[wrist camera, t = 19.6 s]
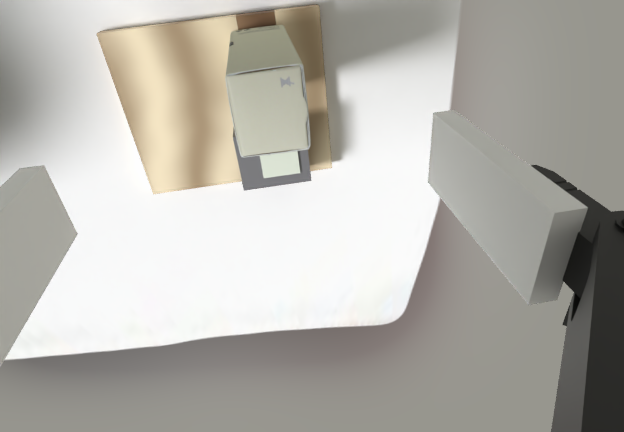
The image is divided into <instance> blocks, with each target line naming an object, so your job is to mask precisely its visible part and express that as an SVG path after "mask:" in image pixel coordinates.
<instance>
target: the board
mask: <svg viewBox="0 0 624 432" xmlns="http://www.w3.org/2000/svg"><path fill="white" fill-rule="evenodd" d="M274 25H284V27H285V29H286V32H287V34H288V36H289V38H290V39H291V41H292V43H293V45H294V47H295V49H296V51H297V53H298V55H299V57H300V59H301V61H302V64H303V66H304V75H305V83H306V92H307V102H308V112H309V124H310V140H311V145H310V148H309V149H308V155H309V164H310V171H314V170H321V169H328V168H332V162H331V149H330V136H329V124H328V111H327V98H326V85H325V72H324V59H323V47H322V34H321V21H320V8H319V5H317V4H316V5H308V6H300V7H292V8H284V9H276V10H268V11H260V12H252V13H244V14H236V15H228V16H219V17H211V18H203V19H195V20H187V21H179V22H171V23H163V24H155V25H147V26H139V27H131V28H122V29H114V30H106V31H100V32H99V33H97V37H98V39H99V42H100V45H101V48H102V51H103V54H104V56H105V59H106V62H107V65H108V68H109V70H110V73H111V76H112V79H113V82H114V85H115V87H116V90H117V93H118V96H119V99H120V101H121V104H122V107H123V110H124V113H125V115H126V118H127V121H128V124H129V127H130V130H131V132H132V135H133V138H134V141H135V144H136V146H137V149H138V152H139V155H140V158H141V161H142V163H143V166H144V169H145V172H146V175H147V177H148V180H149V183H150V186H151V189H152V192H153V194H158V193H165V192H172V191H179V190H185V189H192V188H199V187H206V186H212V185H219V184H226V183H233V182H240V181H242V179H241V174H240V169H239V165H238V160H237V155H236V150H235V146H234V141H233V128H234V126H233V121H232V116H231V111H230V106H229V100H228V94H227V88H226V81H225V76H226V68H227V61H228V52H229V44H230V34H231V32H232V31H237V30H242V29H250V28H257V27H265V26H274Z"/></svg>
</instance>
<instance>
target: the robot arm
mask: <svg viewBox="0 0 624 432" xmlns="http://www.w3.org/2000/svg"><path fill="white" fill-rule="evenodd" d="M428 183H429V184H430V185H431V187H432V188H433V189H434V190H435V192H436V193H437V194H438V195H439V196H440V198H441V199H442V200H443V201H444V202H445V204H446V205H447V206H448V207H449V209H450V210H451V211H452V212H453V214H454V215H455V216H456V217H457V218H458V220H459V221H460V222H461V223H462V225H463V226H464V227H465V228H466V229H467V231H468V232H469V233H470V234H471V236H472V237H473V238H474V239H475V240H476V242H477V243H478V244H479V245H480V246H481V248H482V249H483V250H484V251H485V253H486V254H487V255H488V256H489V258H490V259H491V260H492V261H493V262H494V264H495V265H496V266H497V267H498V269H499V270H500V271H501V272H502V273H503V275H504V276H505V277H506V278H507V280H508V281H509V282H510V283H511V284H512V286H513V287H514V288H515V289H516V290H517V292H518V293H519V294H520V295H521V297H522V298H523V299H524V300H525V301H526V303H527V304H528V305H532V304H537V303H543V302H548V301H554V300H557V299H558V296H559V293H560V290H561V287H562V284H563V281H564V282H565V283H566V284H567V285H568V286H569V287H570V288H571V289H572V290H573V291H574V294H573V297H572V300H571V302H570V306H569V308H568V311H567V314H566V316H565V319H564V322H563V325H565V326H567V328H566V335H565V342H564V349H563V355H562V362H561V369H560V376H559V382H558V389H557V396H556V402H555V409H554V417H553V423H552V429H551V432H624V211H615V212H611V211H609V210H608V209H607V208H605V207H604V206H602V205H601V204H599V203H598V202H596V201H595V200H594V199H592V198H591V197H589V196H588V195H586V194H585V193H584V192H582V191H581V190H577V188H576V187H575V186H574V185H572V184H571V183H569V182H566V180H565V179H564V178H562V177H561V176H559V175H558V174H556V173H555V172H553V171H550V170H548V169H545V168H543V167H540V166H537V165H532V166H530V165H529V164H528V163H526V162H525V161H524V160H522V159H521V158H519V157H518V156H517V155H515V154H514V153H513V152H511V151H510V150H508V149H507V148H506V147H504V146H503V145H502V144H500V143H499V142H497V141H496V140H495V139H493V138H492V137H490V136H489V135H488V134H487V133H485V132H484V131H483V130H481V129H480V128H478V127H477V126H475V125H474V124H473V123H472V122H470V121H469V120H467V119H466V118H465V117H463V116H462V115H461V114H459V113H458V112H457V111H455V110H451V111H444V112H436V113H433V125H432V137H431V150H430V162H429V175H428ZM76 236H77V232H76V230H75V228H74V226H73V224H72V222H71V220H70V218H69V216H68V214H67V212H66V209H65V207H64V205H63V203H62V201H61V199H60V197H59V195H58V193H57V191H56V189H55V187H54V185H53V183H52V181H51V179H50V177H49V175H48V173H47V171H46V169H45V167H44V165H43V166H35V167H28V168H21V169H19V170H18V171H16V172H15V173H14V174H13V175H12V176H11V177H10V178H9V179H8V180H7V181H6V182H5V183H4V184H3V185H2V186H1V187H0V366H1V365H2V363H3V361H4V359H5V358H6V356H7V354H8V352H9V351H10V349H11V347H12V346H13V344H14V342H15V340H16V339H17V337H18V335H19V334H20V332H21V330H22V328H23V327H24V325H25V323H26V322H27V320H28V318H29V316H30V315H31V313H32V311H33V310H34V308H35V306H36V304H37V303H38V301H39V299H40V298H41V296H42V294H43V292H44V291H45V289H46V287H47V286H48V284H49V282H50V280H51V279H52V277H53V275H54V274H55V272H56V270H57V268H58V267H59V265H60V263H61V262H62V260H63V258H64V256H65V255H66V253H67V251H68V250H69V248H70V246H71V244H72V243H73V241H74V239H75V238H76Z"/></svg>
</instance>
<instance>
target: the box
mask: <svg viewBox="0 0 624 432" xmlns="http://www.w3.org/2000/svg"><path fill="white" fill-rule="evenodd" d="M225 81H226V88H227V94H228V100H229V106H230V111H231V116H232V121H233V126H234V130H235V135H236V139H237V143H238V147H239V151H240V155H241V157H243V158H245V157H252V156H262V155H270V154H280V153H288V152H295V151H302V150H308V149H309V148H310V145H311V140H310V124H309V112H308V102H307V92H306V83H305V75H304V66H303V64H302V61H301V59H300V57H299V55H298V53H297V51H296V49H295V47H294V45H293V43H292V41H291V39H290V38H289V36H288V34H287V32H286V29H285V27H284V25H274V26H265V27H257V28H250V29H242V30H237V31H232V32H231V34H230V44H229V52H228V61H227V68H226V76H225Z"/></svg>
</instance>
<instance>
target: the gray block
mask: <svg viewBox="0 0 624 432" xmlns="http://www.w3.org/2000/svg"><path fill="white" fill-rule="evenodd" d="M233 141H234V146H235V150H236V155H237V160H238V165H239V169H240V174H241V179H242V184H243V188H244V190H250V189H257V188H264V187H271V186H278V185H285V184H292V183H299V182H305V181H311V174H310V164H309V155H308V150H302V151H295V152H288V153H280V154H270V155H262V156H252V157H245V158H243V157H241V155H240V151H239V147H238V143H237V139H236V135H235V130H234V128H233Z"/></svg>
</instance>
